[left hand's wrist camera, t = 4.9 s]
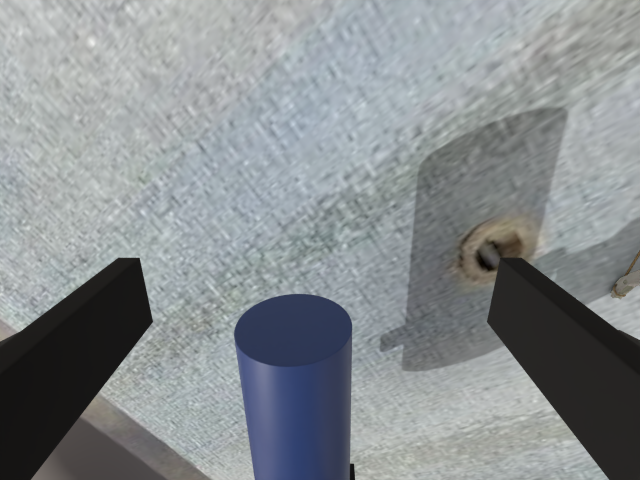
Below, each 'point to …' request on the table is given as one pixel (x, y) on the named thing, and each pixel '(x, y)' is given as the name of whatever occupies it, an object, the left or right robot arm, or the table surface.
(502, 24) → the table surface
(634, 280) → the bow
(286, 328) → the rod
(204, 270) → the table surface
